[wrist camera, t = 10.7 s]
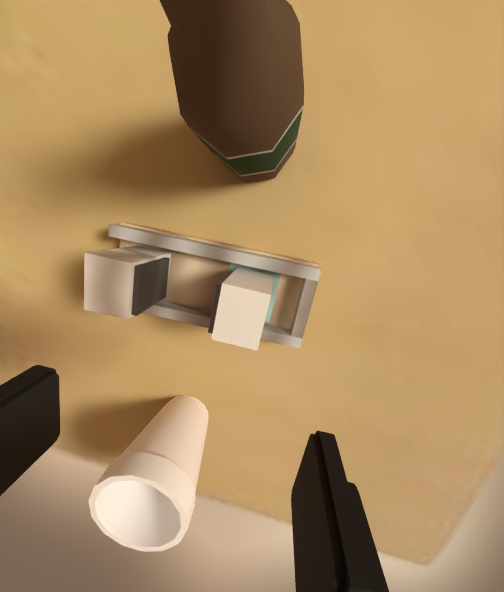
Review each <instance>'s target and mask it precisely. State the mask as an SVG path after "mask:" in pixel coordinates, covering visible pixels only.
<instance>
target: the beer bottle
mask: <svg viewBox="0 0 504 592" xmlns="http://www.w3.org/2000/svg"><path fill="white" fill-rule="evenodd" d="M160 2H161V4H162V6H163V9H164V11H165V13H166V15H167V18H168V20H169V22H170V24H171V28H170V31H169V33H168V43H169V51H170V57H171V63H172V69H173V74H174V80H175V86H176V91H177V97H178V103H179V108H180V114H181V116H182V117H183V119H184V120H185V122H186V123H187V125H188V126H189V128H190V129H191V130H192V131H193V132H194V133H195V134H196V135H197V136H198V137H199V139H200V140H201V141H202V142H203V143H204V144H205V145H206V146H207V147H208V148H209V150H210V151H211V152H212V153H213V154H214V155H215V156H216V157H217V158H218V159H219V160H220V161H221V162H222V163H223V164H224V165H226V166H227V167H228V168H229V169H230V170H232V171H233V172H234V173H235V174H237V175H238V176H239V177H240V178H241V179H243V180H244V181H245V182H247V183H248V182H254V181H260V180H266V179H273V178H275V177H276V175H277V174H278V173H279V171H280V170H281V168H282V167H283V166H284V164H285V163H286V162H287V160H288V159H289V157H290V156H291V155H292V153H293V151H294V149H295V145H296V140H297V135H298V130H299V125H300V120H301V115H302V110H303V105H304V80H303V66H302V51H301V36H300V23H299V21H298V18H297V16H296V14H295V12H294V10H293V8H292V6H291V5H290V4H289V3H288V2H287V1H286V0H160Z"/></svg>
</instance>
